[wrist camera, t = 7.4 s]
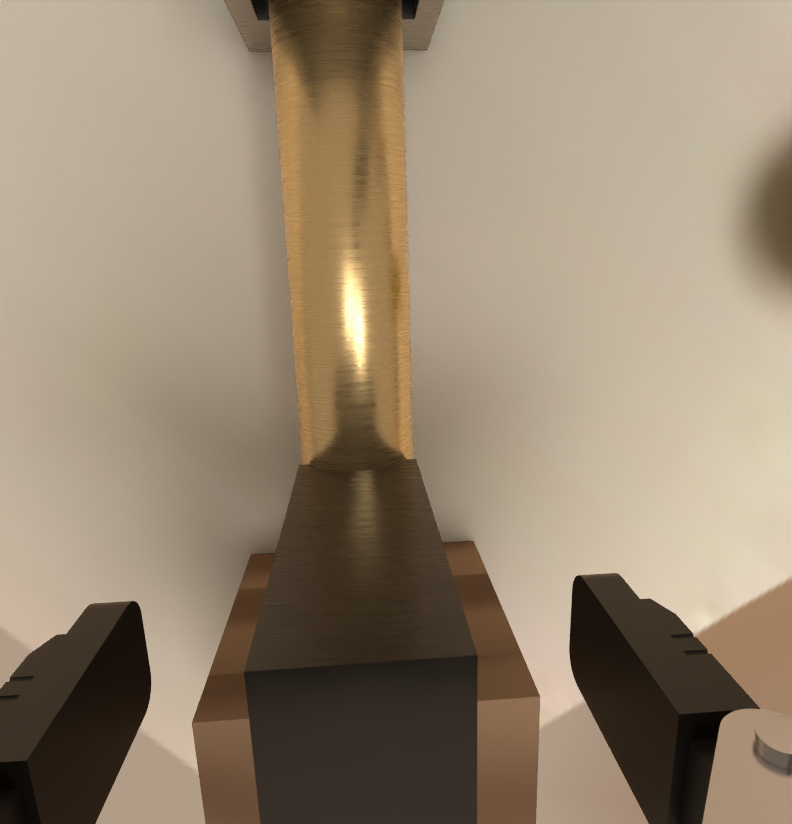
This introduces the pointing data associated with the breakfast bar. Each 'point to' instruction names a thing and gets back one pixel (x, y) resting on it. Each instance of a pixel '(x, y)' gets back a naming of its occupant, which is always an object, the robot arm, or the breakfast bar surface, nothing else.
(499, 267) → the breakfast bar surface
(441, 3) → the sleeve
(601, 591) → the robot arm
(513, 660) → the socket
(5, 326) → the breakfast bar surface
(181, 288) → the breakfast bar surface
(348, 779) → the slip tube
